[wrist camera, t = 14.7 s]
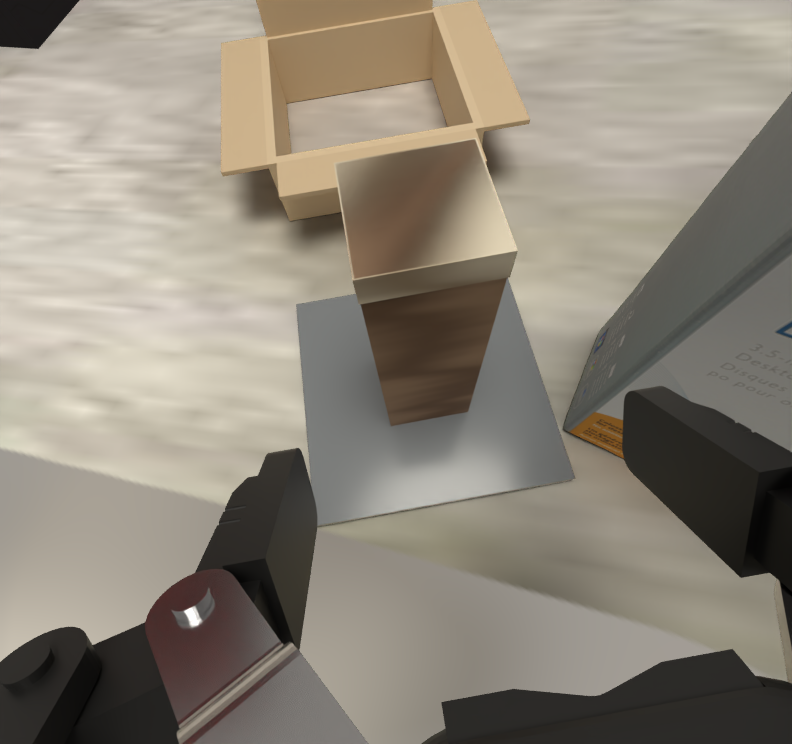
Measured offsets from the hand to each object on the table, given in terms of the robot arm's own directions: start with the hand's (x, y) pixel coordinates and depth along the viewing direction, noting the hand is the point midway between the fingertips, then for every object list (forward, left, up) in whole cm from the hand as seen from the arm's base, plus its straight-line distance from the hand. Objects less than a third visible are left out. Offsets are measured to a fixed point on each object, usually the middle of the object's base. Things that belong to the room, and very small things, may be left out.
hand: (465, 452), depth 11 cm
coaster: (0, -7, -14) cm, 16 cm away
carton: (0, -28, -14) cm, 31 cm away
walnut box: (0, -7, -13) cm, 15 cm away
